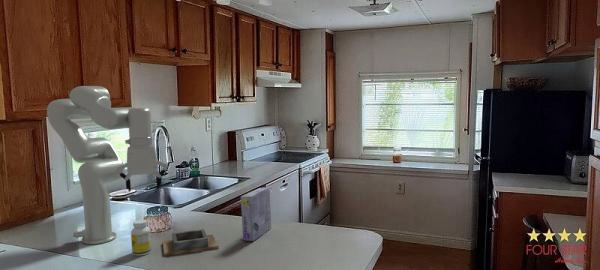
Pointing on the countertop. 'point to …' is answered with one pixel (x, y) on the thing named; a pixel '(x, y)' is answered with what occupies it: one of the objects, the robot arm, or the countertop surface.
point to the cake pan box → (256, 213)
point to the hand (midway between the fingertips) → (143, 189)
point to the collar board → (189, 242)
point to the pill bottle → (140, 238)
